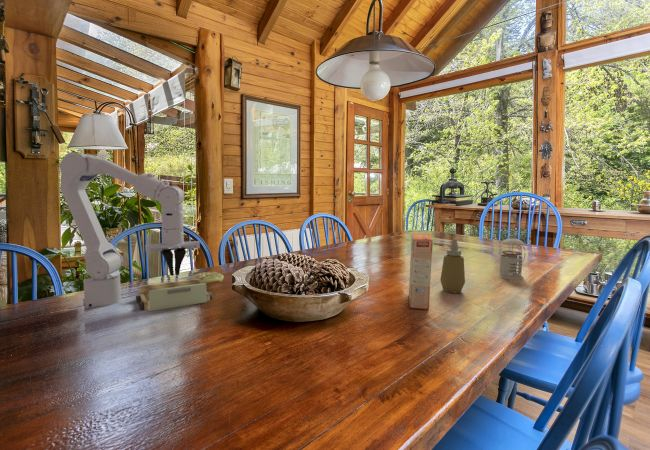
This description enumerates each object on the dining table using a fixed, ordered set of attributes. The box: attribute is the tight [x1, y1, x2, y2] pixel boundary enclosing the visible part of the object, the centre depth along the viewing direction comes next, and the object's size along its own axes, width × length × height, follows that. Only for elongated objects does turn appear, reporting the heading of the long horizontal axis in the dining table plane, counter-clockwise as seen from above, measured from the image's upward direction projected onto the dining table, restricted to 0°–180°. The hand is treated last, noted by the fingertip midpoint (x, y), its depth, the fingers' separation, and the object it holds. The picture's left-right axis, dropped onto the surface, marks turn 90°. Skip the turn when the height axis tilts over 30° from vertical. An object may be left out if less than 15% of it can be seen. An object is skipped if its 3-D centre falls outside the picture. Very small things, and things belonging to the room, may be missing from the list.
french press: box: [496, 213, 526, 281], centre depth 153 cm, size 10×12×25 cm
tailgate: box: [149, 283, 208, 312], centre depth 108 cm, size 15×1×6 cm, turn 122°
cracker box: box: [408, 232, 434, 310], centre depth 118 cm, size 14×6×21 cm, turn 168°
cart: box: [135, 278, 213, 312], centre depth 114 cm, size 20×12×6 cm, turn 122°
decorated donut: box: [192, 271, 225, 285], centre depth 137 cm, size 10×11×4 cm
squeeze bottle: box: [439, 238, 466, 294], centre depth 131 cm, size 8×8×18 cm
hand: (174, 274), depth 112 cm, fingers closed
